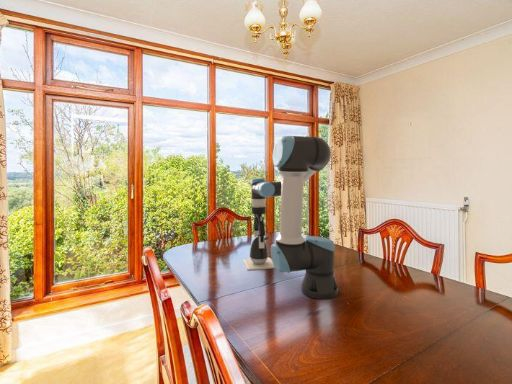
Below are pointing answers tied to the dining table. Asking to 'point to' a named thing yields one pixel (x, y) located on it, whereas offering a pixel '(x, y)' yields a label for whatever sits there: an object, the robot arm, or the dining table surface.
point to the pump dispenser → (258, 251)
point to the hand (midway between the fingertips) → (259, 245)
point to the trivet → (253, 266)
